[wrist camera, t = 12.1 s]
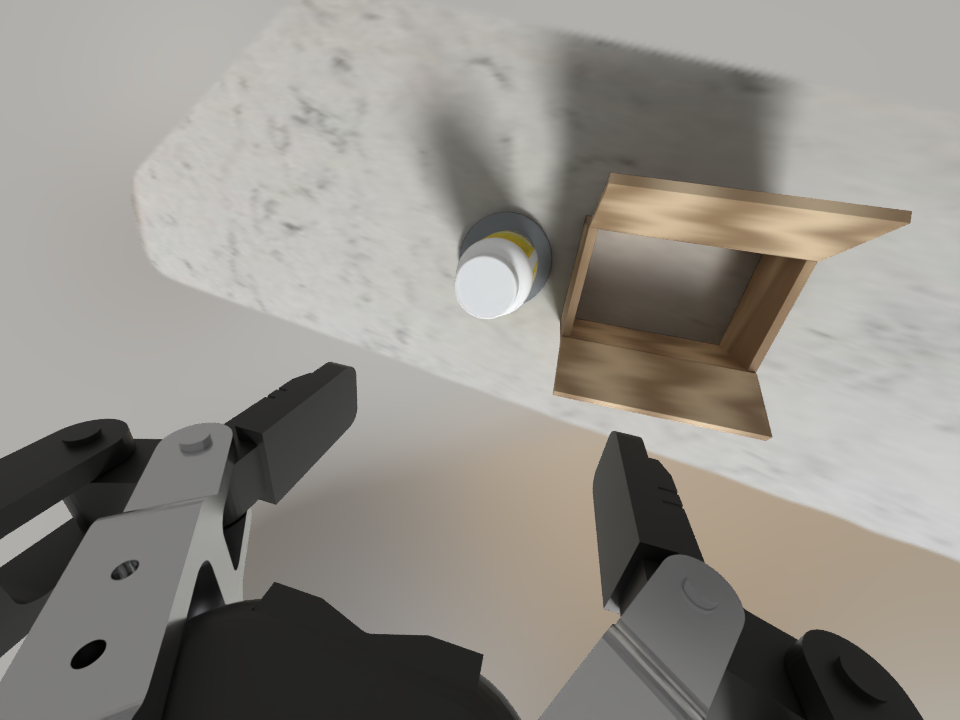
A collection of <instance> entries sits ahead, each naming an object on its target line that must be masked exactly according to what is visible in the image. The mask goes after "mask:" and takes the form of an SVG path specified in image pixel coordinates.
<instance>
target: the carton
mask: <svg viewBox="0 0 960 720" xmlns="http://www.w3.org/2000/svg"><path fill="white" fill-rule="evenodd" d="M911 214H912V211H906V210H898V209H890V208H882V207H874V206H867V205H859V204H851V203H843V202H835V201H828V200H820V199H812V198H804V197H796V196H789V195H781V194H773V193H765V192H757V191H749V190H742V189H734V188H726V187H718V186H710V185H703V184H695V183H687V182H679V181H671V180H664V179H656V178H648V177H640V176H632V175H625V174H617V173H610V176H609V178H608V180H607V183H606V185H605V188H604V190H603V192H602V195H601V197H600V199H599V202H598V204H597V206H596V209H595V211H594V214H593V216H588V215H586V218H585V223H584V227H583V231H582V235H581V239H580V243H579V247H578V251H577V255H576V259H575V263H574V267H573V272H572V276H571V280H570V284H569V288H568V292H567V296H566V300H565V304H564V308H563V312H562V316H561V321H560V348H559V355H558V362H557V369H556V376H555V383H554V390H553V395H556V396H560V397H565V398H570V399H574V400H579V401H583V402H588V403H593V404H597V405H602V406H607V407H611V408H616V409H621V410H625V411H630V412H635V413H639V414H644V415H649V416H653V417H658V418H663V419H667V420H672V421H677V422H681V423H686V424H691V425H695V426H700V427H704V428H709V429H714V430H718V431H723V432H728V433H732V434H737V435H742V436H746V437H751V438H756V439H760V440H765V441H766V440H768V439H770V438H772V434H771V430H770V426H769V422H768V418H767V413H766V409H765V405H764V401H763V397H762V393H761V389H760V385H759V381H758V377H757V374H755V373H756V371H757V370H758V368H759V366H760V364H761V363H762V361H763V359H764V357H765V355H766V354H767V352H768V350H769V348H770V346H771V345H772V343H773V341H774V339H775V337H776V336H777V334H778V332H779V330H780V328H781V327H782V325H783V323H784V321H785V319H786V318H787V316H788V314H789V312H790V310H791V309H792V307H793V305H794V303H795V301H796V300H797V298H798V296H799V294H800V292H801V291H802V289H803V287H804V285H805V283H806V282H807V280H808V278H809V276H810V274H811V273H812V271H813V269H814V267H815V265H816V264H817V262H818V261H819V262H820V261H822V260H824V259H827V258H829V257H832V256H834V255H836V254H839V253H841V252H843V251H846V250H848V249H850V248H853V247H855V246H858V245H860V244H862V243H865V242H867V241H869V240H872V239H874V238H876V237H879V236H881V235H884V234H886V233H888V232H891V231H893V230H895V229H898V228H900V227H902V226H905V225H907V224H910V221H911ZM598 229H602V230H608V231H615V232H622V233H628V234H635V235H642V236H648V237H655V238H662V239H668V240H675V241H682V242H688V243H695V244H702V245H708V246H715V247H722V248H729V249H735V250H742V251H749V252H755V253H762V254H763V255H762V257H761V259H760V261H759V263H758V265H757V267H756V269H755V271H754V273H753V275H752V277H751V280H750V282H749V284H748V286H747V288H746V290H745V292H744V294H743V296H742V298H741V300H740V302H739V304H738V307H737V309H736V311H735V313H734V315H733V317H732V319H731V321H730V323H729V325H728V327H727V329H726V331H725V334H724V336H723V338H722V340H721V342H720V344H719V345H716V344H710V343H705V342H699V341H694V340H688V339H683V338H678V337H672V336H667V335H661V334H656V333H651V332H645V331H640V330H634V329H629V328H623V327H618V326H613V325H607V324H602V323H596V322H591V321H585V320H580V319H575V315H576V311H577V307H578V304H579V300H580V296H581V292H582V288H583V285H584V281H585V277H586V273H587V269H588V266H589V262H590V258H591V254H592V250H593V247H594V243H595V239H596V235H597V231H598Z"/></svg>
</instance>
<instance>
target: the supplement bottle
mask: <svg viewBox="0 0 960 720" xmlns="http://www.w3.org/2000/svg"><path fill="white" fill-rule="evenodd" d="M537 269H538V256H537V252H536V250H535V247H534V246H533V244H532V243H531V241H530V240H529V239H528V238H527V237H525V236H524V235H522V234H520V233H518V232H515V231H509V230H506V231H499V232H496V233H494V234H491V235H489V236H487V237H485V238H484V239H482V240H480V241H478V242H476V243H474V244H473V245H471V246H470V247H469V248H468V249H467V250H466V251H465V252H464V254H463V255H462V256H461V258H460V260H459V263H458V266H457V270H456V277H455V281H454V290H455V295H456V298H457V300H458V302H459V304H460V305H461V307H462V308H463V309H464V310H465V311H466V312H468V313H469V314H471V315H472V316H475V317H477V318H481V319H492V318H496V317H499V316H502V315H506V314H508V313H511V312H513V311H515V310H516V309H517V308H519V307H520V306H521V305H522V304H523V302H524V301H525V300H526V298H527V297H528V295H529V293H530V290H531V287H532V284H533V282H534V279H535V276H536V273H537Z"/></svg>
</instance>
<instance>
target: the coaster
mask: <svg viewBox="0 0 960 720" xmlns="http://www.w3.org/2000/svg"><path fill="white" fill-rule="evenodd" d="M506 230H509V231H515V232H518V233H520V234H522V235H524V236H525V237H527V238H528V239H529V240H530V241H531V243H532V244H533V246H534V247H535V250H536V252H537V256H538V269H537V273H536V276H535V279H534V282H533V284H532V287H531V290H530V293H529V295H528V297H527V298H526V300H525V301H524V302H523V303H525V302H527V301H529V300H530V299H532V298H533V297H534V296H535V295H536V294H537V293H538V292H539V291H540V290H541V289H542V288H543V286H544V284H545V283H546V281H547V278H548V276H549V273H550V268H551V249H550V245H549V242H548V240H547V237H546V236H545V234H544V232H543V231H542V230H541V228H540V227H539V226H538V225H537V224H536V223H535V222H533V221H532V220H531V219H529V218H527V217H525V216H523V215H520V214H517V213H512V212H501V213H496V214H492V215H490V216H487V217H485V218H483V219H482V220H480V221H479V222H477V223H476V224H475V225H474V226H473V227H472V228H471V230H470V231H469V232H468V234H467V236H466V237H465V239H464V242H463V244H462V248H461V253H460V258H461V256H462V255H463V254H464V252H465V251H466V250H467V249H468V248H469V247H470V246H471V245H473V244H474V243H476V242H478V241H480V240H482V239H484V238H485V237H487V236H489V235H491V234H494V233H496V232H499V231H506Z"/></svg>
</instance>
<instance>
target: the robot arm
mask: <svg viewBox="0 0 960 720" xmlns="http://www.w3.org/2000/svg"><path fill="white" fill-rule="evenodd" d="M356 413H357V387H356V371H355V369H354V368H353V367H350V366H346V365H342V364H338V363H333V362H328V363H326V364H325V365H323V366H322V367H320V368H319V369H317V370H316V371H314V372H313V373H308V374H305V375H303V376H300V377H297V378H294V379H292V380H290V381H289V382H287V383H286V384H284V385H283V386H281V387H280V388H279V390H275V391H274V392H272V393H271V394H269V395H268V397H264V398H263V399H262V400H260V401H259V402H257V403H255V404H254V405H252V406H251V407H249V408H248V409H246V410H245V411H243V412H242V413H240V414H239V415H237V416H236V417H234V418H232V419H231V420H229V421H228V422H226V423H225V424H220V423H202V424H196V425H192V426H188V427H185V428H182V429H180V430H178V431H175V432H173V433H171V434H170V435H168V436H167V437H165V438H164V439H133V437H132V435H131V432H130V430H129V428H128V425H127V424H126V423H125V422H123V421H120V420H116V419H99V420H92V421H86V422H83V423H78V424H75V425H72V426H69V427H66V428H64V429H61V430H59V431H57V432H55V433H53V434H51V435H49V436H47V437H44V438H42V439H40V440H38V441H36V442H34V443H32V444H30V445H28V446H26V447H24V448H22V449H20V450H18V451H16V452H13V453H12V454H9V455H7V456H5V457H3V458H1V459H0V539H1V538H3V537H4V536H6V535H7V534H9V533H10V532H12V531H14V530H15V529H17V528H18V527H20V526H22V525H23V524H25V523H26V522H28V521H29V520H31V519H33V518H34V517H36V516H37V515H39V514H40V513H42V512H44V511H45V510H47V509H48V508H50V507H51V506H53V505H54V504H56V503H58V502H59V501H61V500H63V501H64V503H65V504H66V506H67V508H68V510H69V511H70V513H71V515H72V516H73V518H72V519H70V520H69V521H67V522H66V523H65V524H63V525H61V526H60V527H59V528H57V529H56V530H54V531H53V532H51V533H50V534H48V535H47V536H46V537H44V538H43V539H41V540H40V541H39V542H37V543H35V544H34V545H32V546H31V547H29V548H28V549H26V550H25V551H24V552H22V553H21V554H19V555H18V556H16V557H15V558H13V559H12V560H10V561H9V562H7V563H6V564H5V565H3V566H2V567H0V657H1V656H2V655H4V654H5V653H6V652H7V651H8V650H10V649H11V648H12V647H13V646H14V645H15V644H16V643H18V642H19V641H20V640H21V639H22V638H24V637H25V636H26V635H27V634H28V635H27V637H26V638H25V640H24V642H23V644H22V645H21V647H20V649H19V650H18V652H17V654H16V656H15V657H14V659H13V661H12V663H11V664H10V666H9V668H8V669H7V671H6V673H5V675H4V676H3V678H2V680H1V682H0V720H521V719H520V717H519V716H518V714H517V712H516V711H515V710H514V708H513V707H512V706H511V704H510V703H509V702H508V700H507V699H506V698H505V696H504V695H503V694H502V693H501V692H500V691H499V690H498V689H497V688H496V687H495V686H494V685H493V684H492V683H491V682H490V681H489V680H487V679H486V678H485V677H483V676H482V675H481V674H480V671H481V665H482V659H483V654H480V653H477V652H474V651H471V650H468V649H466V648H463V647H460V646H457V645H454V644H451V643H449V642H445V641H443V640H440V639H437V638H434V637H431V636H426V635H389V634H369V633H366V632H364V631H362V630H361V629H360V628H358V627H357V626H356V625H355V624H353V623H352V622H351V621H350V620H348V619H347V618H346V617H345V616H344V615H342V614H341V613H340V612H339V611H337V610H336V609H335V608H334V607H332V606H331V605H330V604H329V603H327V602H326V601H325V600H324V599H322V598H320V597H317V596H313V595H311V594H308V593H305V592H302V591H299V590H297V589H294V588H291V587H288V586H285V585H282V584H279V583H276V582H274V583H273V585H272V586H271V587H270V589H269V590H268V591H267V592H266V594H265V595H264V596H263V598H262V599H255V600H245V601H243V591H242V583H243V573H244V566H245V559H246V553H247V545H248V539H249V532H250V525H251V518H252V511H251V506H252V505H253V504H254V503H255V502H256V501H257V500H258V499H260V500H263V501H266V502H269V503H273V504H277V503H278V502H279V501H280V500H281V499H282V498H283V497H284V496H285V495H286V493H288V491H289V490H290V489H291V488H292V487H293V486H294V485H295V484H296V483H297V482H298V481H299V480H300V479H301V478H302V477H303V476H304V475H305V474H306V473H307V472H308V470H309V469H310V468H311V467H312V466H313V465H314V464H315V463H316V462H317V461H318V460H319V459H320V458H321V457H322V456H323V455H324V453H325V452H326V451H327V450H328V449H329V448H330V447H331V446H332V445H333V444H334V443H335V442H336V441H337V440H338V439H339V438H340V437H341V436H342V435H343V433H344V432H345V431H346V430H347V429H348V428H349V427H350V426H351V424H352V423H353V421H354V419H355V417H356ZM593 499H594V510H595V520H596V531H597V542H598V552H599V563H600V574H601V584H602V595H603V606H604V609H605V610H608V611H612V612H615V613H618V614H620V616H621V618H620V619H619V620H618V621H617V623H616V624H615V625H614V624H612V626H610V628H609V629H608V630H607V631H606V632H605V634H604V635H603V636H602V638H601V639H600V640H599V641H598V643H597V644H596V645H595V647H594V648H593V649H592V650H591V652H590V653H589V654H588V656H587V657H586V658H585V660H584V661H583V662H582V663H581V665H580V666H579V667H578V669H577V670H576V671H575V673H574V674H573V675H572V676H571V678H570V679H569V680H568V682H567V683H566V684H565V685H564V687H563V688H562V689H561V691H560V692H559V693H558V695H557V696H556V697H555V699H554V700H553V701H552V702H551V704H550V705H549V706H548V708H547V709H546V710H545V711H544V713H543V714H542V716H541V717H540V718H539V719H538V720H923V718H922V716H921V715H920V713H919V712H918V710H917V709H916V707H915V706H914V704H913V703H912V701H911V700H910V698H909V697H908V695H907V694H906V693H905V691H904V690H903V688H902V687H901V686H900V685H899V684H898V683H897V681H896V680H895V679H894V678H893V677H892V676H891V675H890V674H889V673H888V672H887V671H886V670H885V669H884V668H883V667H882V666H881V665H880V664H879V663H878V662H877V661H876V660H875V659H873V658H872V657H871V656H870V655H868V654H867V653H866V652H864V651H863V650H862V649H860V648H859V647H858V646H856V645H855V644H853V643H851V642H850V641H848V640H846V639H844V638H842V637H840V636H839V635H836V634H834V633H831V632H828V631H824V630H817V629H816V630H810V631H808V632H806V633H805V634H804V635H803V636H802V637H801V638H800V639H799V640H797V639H795V638H794V637H792V636H790V635H788V634H787V633H785V632H783V631H781V630H780V629H778V628H776V627H774V626H773V625H771V624H769V623H767V622H766V621H764V620H762V619H760V618H758V617H757V616H755V615H753V614H752V613H750V612H748V611H747V610H745V609H744V608H743V606H742V604H741V601H740V599H739V597H738V596H737V594H736V592H735V591H734V589H733V588H732V587H731V585H730V584H729V583H728V582H727V581H726V580H725V579H724V578H723V577H722V576H721V575H720V574H719V573H718V572H717V571H715V570H714V569H713V568H711V567H710V566H709V565H707V564H705V562H704V559H703V557H702V554H701V552H700V549H699V546H698V544H697V541H696V539H695V536H694V534H693V531H692V528H691V526H690V523H689V520H688V518H687V515H686V513H685V510H684V509H682V506H683V505H682V502H681V500H680V497H679V495H677V489H676V487H675V484H674V482H673V479H672V476H671V475H670V474H669V472H668V471H667V470H666V469H665V468H664V467H663V465H662V464H661V463H660V462H659V461H658V460H656V459H652V458H648V455H647V452H646V449H645V446H644V443H643V440H642V438H641V437H637V436H633V435H629V434H625V433H621V432H616V431H612V432H611V434H610V436H609V438H608V441H607V443H606V446H605V448H604V451H603V454H602V456H601V459H600V461H599V464H598V467H597V469H596V472H595V476H594V481H593Z"/></svg>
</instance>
